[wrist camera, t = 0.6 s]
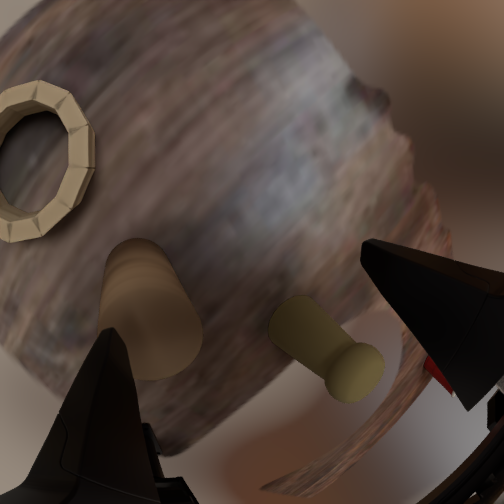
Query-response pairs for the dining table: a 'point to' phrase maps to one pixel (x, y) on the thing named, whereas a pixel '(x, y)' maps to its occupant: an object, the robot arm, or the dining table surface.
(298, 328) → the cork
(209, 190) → the dining table surface
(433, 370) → the plastic cup
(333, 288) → the dining table surface
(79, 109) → the wooden ring
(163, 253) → the walnut peg
